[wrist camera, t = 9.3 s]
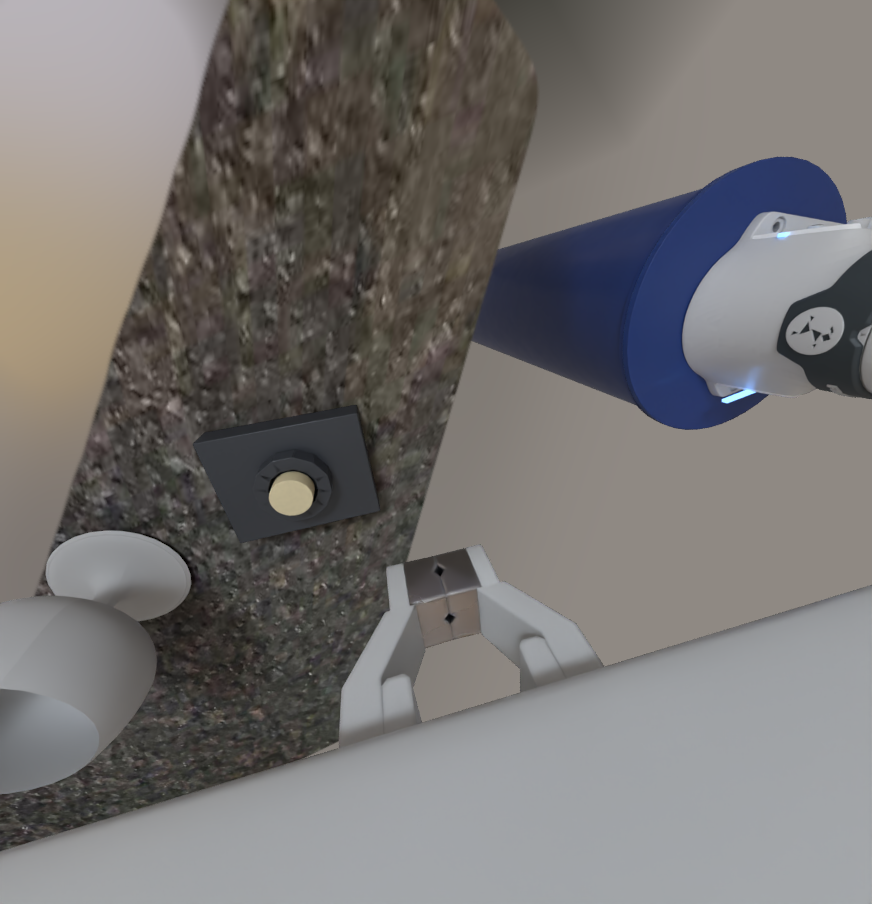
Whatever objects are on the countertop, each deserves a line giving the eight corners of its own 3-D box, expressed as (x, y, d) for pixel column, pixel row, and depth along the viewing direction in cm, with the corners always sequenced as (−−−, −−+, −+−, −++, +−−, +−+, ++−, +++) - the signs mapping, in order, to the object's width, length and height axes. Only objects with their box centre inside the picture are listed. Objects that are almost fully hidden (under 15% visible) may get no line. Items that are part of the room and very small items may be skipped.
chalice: (53, 500, 31) (-169, 656, 18) (220, 544, 36) (146, 688, 23) (23, 609, 34) (-181, 807, 21) (179, 634, 40) (95, 804, 27)
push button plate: (356, 404, 33) (357, 419, 29) (378, 497, 38) (381, 521, 34) (203, 432, 31) (182, 452, 27) (247, 527, 36) (234, 556, 32)
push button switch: (308, 467, 31) (306, 476, 29) (319, 500, 32) (317, 510, 31) (267, 475, 30) (262, 485, 29) (280, 508, 32) (276, 520, 30)
